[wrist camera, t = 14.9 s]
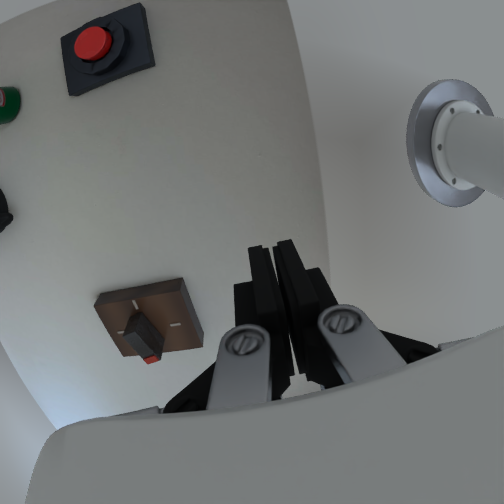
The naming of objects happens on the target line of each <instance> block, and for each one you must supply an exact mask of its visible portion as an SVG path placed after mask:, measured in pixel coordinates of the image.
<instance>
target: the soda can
mask: <svg viewBox="0 0 504 504" xmlns="http://www.w3.org/2000/svg"><path fill="white" fill-rule="evenodd" d="M19 107H20V95H19V92H18V90H17V89H16V88H14V87H0V125H1V124H6V123H9V122H11V121H12V120H13V119H14V118H15V116H16V115H17V113H18V110H19Z"/></svg>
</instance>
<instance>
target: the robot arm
mask: <svg viewBox="0 0 504 504" xmlns="http://www.w3.org/2000/svg"><path fill="white" fill-rule="evenodd" d="M431 149H432V156H433V160H434V164H435V167H436V169H437V171H438V173H439V175H440V176H441V178H442V179H443V180H444V181H445V182H446V183H447V184H448V185H450V186H452V187H454V188H456V189H459V190H467V189H471V188H473V187H475V186H478V187H480V188H482V189H484V190H486V191H488V192H490V193H492V194H494V195H496V196H498V197H500V198H502V199H504V119H503V118H498V117H493V116H488V115H484V114H483V112H482V111H481V110H480V109H479V108H478V107H477V106H476V105H475V104H473V103H471V102H468V101H464V100H456V101H452V102H450V103H448V104H446V105H445V106H444V107H443V108H442V109H441V111H440V112H439V114H438V116H437V118H436V120H435V123H434V126H433V130H432V138H431ZM248 253H249V260H250V267H251V274H252V281H249V282H244V283H239V284H234V305H235V326H236V327H234V328H232V329H231V330H229V331H228V332H226V334H225V335H224V336H223V337H222V339H221V341H220V345H219V350H218V354H217V359H216V362H214V363H213V364H212V365H211V366H210V367H209V368H208V369H206V370H205V371H204V372H203V373H202V374H201V375H199V376H198V377H197V378H196V379H195V380H194V381H192V382H191V383H190V384H189V385H188V386H187V387H185V388H184V389H183V390H182V391H181V392H179V393H178V394H177V395H176V396H175V397H173V398H172V399H171V400H170V401H169V402H168V403H167V404H166V406H165V408H161V409H159V407H158V406H154V407H150V408H146V409H142V410H138V411H133V412H129V413H124V414H119V415H114V416H109V417H99V418H93V419H88V420H83V421H79V422H76V423H73V424H70V425H67V426H65V427H62V428H60V429H59V430H57V431H55V432H54V433H53V434H52V435H51V436H50V437H49V438H48V439H47V441H46V443H45V444H44V446H43V448H42V450H41V452H40V455H39V457H38V459H37V462H36V465H35V468H34V471H33V474H32V477H31V480H30V484H29V489H28V492H27V496H26V501H25V504H504V326H501V327H498V328H495V329H492V330H490V331H487V332H485V333H483V334H480V335H478V336H476V337H472V338H468V339H463V340H458V341H453V342H447V343H442V344H439V345H438V348H435V347H433V346H432V345H429V344H427V343H424V342H420V341H416V340H413V339H409V338H406V337H402V336H399V335H396V334H392V333H389V332H385V331H382V330H379V329H378V328H377V327H376V326H375V325H374V324H373V322H372V321H371V320H370V319H369V318H368V317H367V315H366V314H365V313H364V312H363V311H362V310H360V309H359V308H357V307H355V306H353V305H347V304H343V305H339V304H338V302H337V300H336V298H335V297H334V295H333V293H332V291H331V289H330V287H329V285H328V283H327V281H326V279H325V277H324V275H323V274H322V272H321V270H320V268H318V267H317V268H313V269H308V270H305V268H304V265H303V263H302V261H301V259H300V257H299V254H298V252H297V250H296V248H295V246H294V244H293V242H292V240H291V239H289V240H284V241H279V242H277V246H274V247H273V254H274V260H275V266H276V272H277V278H278V281H277V278H276V274H275V270H274V267H273V263H272V260H271V256H270V253H269V249H268V248H264V249H263V248H262V245H259V246H254V247H249V248H248ZM278 284H279V285H278ZM289 335H290V338H289ZM290 339H291V343H292V347H293V351H294V355H295V358H296V362H297V366H298V370H299V374H303V373H305V374H306V378H307V381H313V382H315V383H318V384H320V387H321V391H317V392H313V393H309V394H304V395H300V396H295V397H290V398H285V399H282V394H283V393H284V391H285V390H286V389H287V388H288V387H289V386H290V385H291V383H290V377H289V376H294V375H295V373H294V366H293V359H292V352H291V345H290Z"/></svg>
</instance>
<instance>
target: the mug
mask: <svg viewBox="0 0 504 504" xmlns="http://www.w3.org/2000/svg"><path fill="white" fill-rule="evenodd" d="M12 220H13V215H12V214H10V213H8V206H7V202H6V199H5V196H4V194H3V192H2V191H1V189H0V233H1V232H2V231H3V230H4V229H5V227H6V226H7V225H9V224H10V223H11V222H12Z"/></svg>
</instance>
